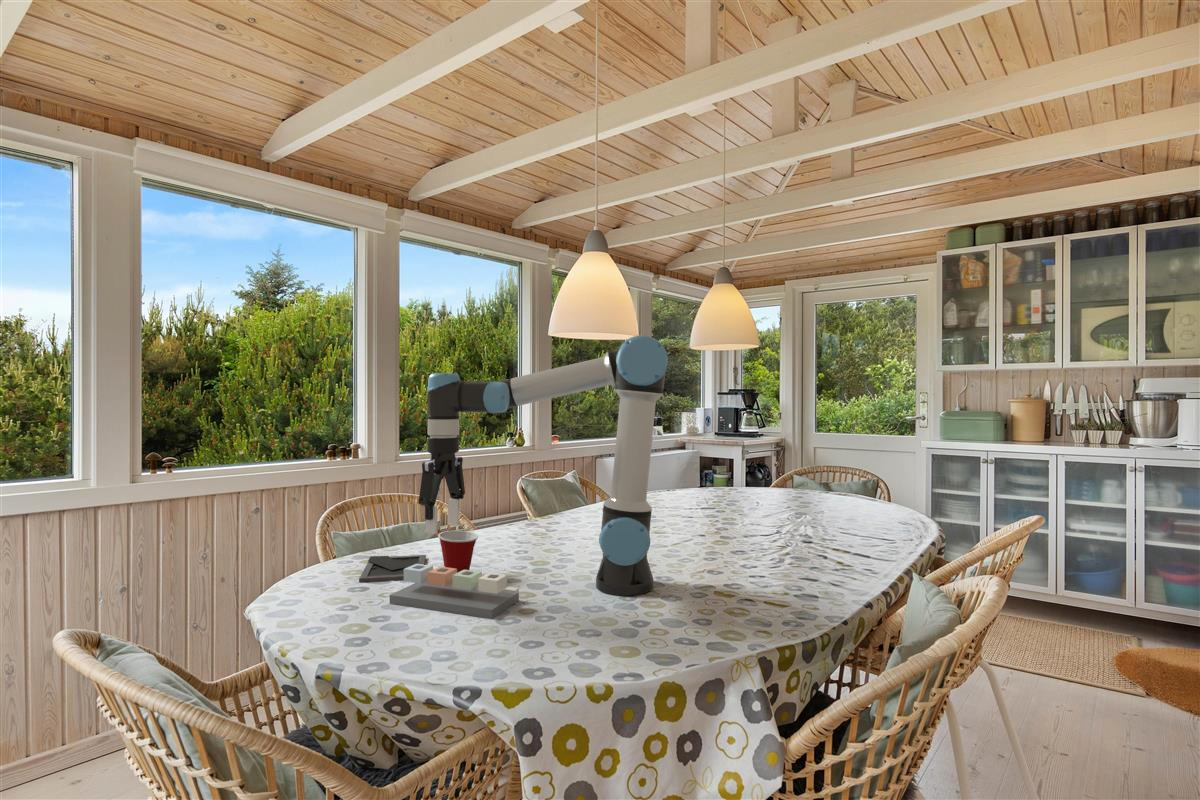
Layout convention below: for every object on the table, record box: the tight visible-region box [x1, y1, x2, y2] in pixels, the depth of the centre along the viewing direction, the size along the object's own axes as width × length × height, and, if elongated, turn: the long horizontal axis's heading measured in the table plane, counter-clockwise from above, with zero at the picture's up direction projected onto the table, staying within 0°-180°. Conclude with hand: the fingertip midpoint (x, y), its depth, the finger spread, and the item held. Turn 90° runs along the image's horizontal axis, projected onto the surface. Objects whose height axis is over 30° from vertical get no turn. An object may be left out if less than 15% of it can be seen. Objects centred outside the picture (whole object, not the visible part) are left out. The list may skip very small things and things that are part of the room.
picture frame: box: [358, 554, 427, 583], centre depth 176 cm, size 16×2×21 cm
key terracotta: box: [428, 566, 457, 587], centre depth 151 cm, size 5×5×3 cm
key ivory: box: [478, 572, 508, 594], centre depth 146 cm, size 5×5×3 cm
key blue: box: [403, 564, 434, 584], centre depth 153 cm, size 5×5×3 cm
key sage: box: [453, 570, 483, 590], centre depth 149 cm, size 5×5×3 cm
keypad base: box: [389, 580, 520, 620], centre depth 150 cm, size 28×13×3 cm, turn 70°
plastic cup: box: [437, 530, 479, 573], centre depth 169 cm, size 11×11×12 cm
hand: (442, 528), depth 151 cm, fingers open, 9 cm apart
